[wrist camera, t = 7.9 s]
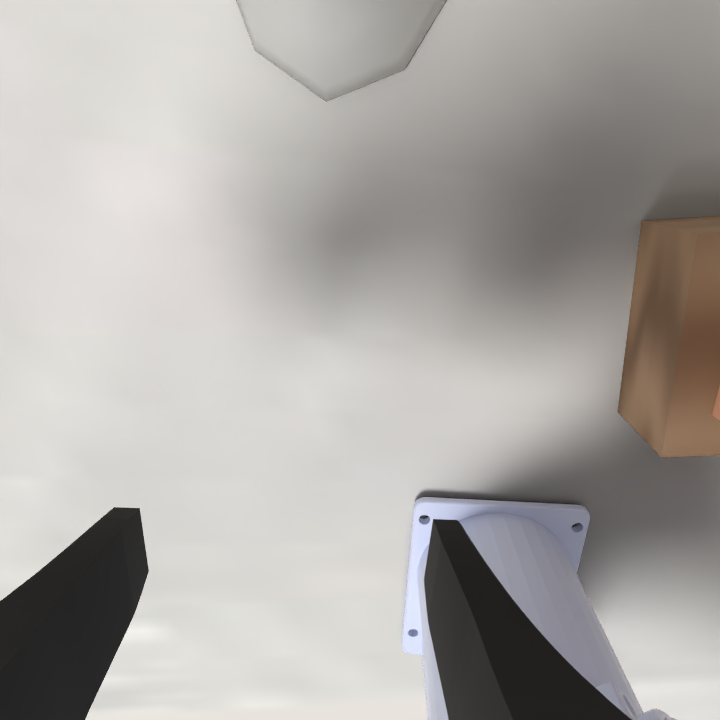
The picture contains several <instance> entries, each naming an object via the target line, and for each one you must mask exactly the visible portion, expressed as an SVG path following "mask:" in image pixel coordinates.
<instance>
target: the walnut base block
mask: <svg viewBox="0 0 720 720" xmlns="http://www.w3.org/2000/svg"><path fill="white" fill-rule="evenodd" d="M719 386H720V216H712V217H696V218H679V219H663V220H647V221H641V229H640V237H639V245H638V253H637V261H636V270H635V278H634V286H633V294H632V302H631V310H630V318H629V326H628V334H627V342H626V350H625V358H624V366H623V374H622V382H621V390H620V398H619V406H618V413H619V414H620V415H621V416H622V417H623V418H624V419H625V420H626V421H627V422H628V423H629V424H630V425H631V426H632V427H633V428H634V430H635V431H636V432H637V433H638V434H639V435H640V436H641V437H642V438H643V439H644V440H645V441H646V442H647V443H648V444H649V445H650V446H651V447H652V448H653V449H654V450H655V451H656V452H657V453H658V455H659V456H660V457H661V458H662V457H689V456H716V455H720V420H719V419H717V418H716V417H714V416H713V415H712V412H713V409H714V405H715V401H716V397H717V393H718V389H719Z"/></svg>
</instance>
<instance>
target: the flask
mask: <svg viewBox="0 0 720 720" xmlns="http://www.w3.org/2000/svg"><path fill="white" fill-rule="evenodd" d="M236 1H237V4H238V7H239V9H240V12H241V15H242V17H243V20H244V23H245V25H246V28H247V31H248V33H249V36H250V39H251V41H252V44H253V47H254V49H255V51H256V52H258V53H259V54H261V55H262V56H263V57H265V58H266V59H267V60H269V61H270V62H272V63H273V64H274V65H276V66H277V67H279V68H280V69H281V70H283V71H284V72H286V73H287V74H288V75H290V76H291V77H293V78H294V79H295V80H297V81H298V82H300V83H301V84H302V85H304V86H305V87H307V88H308V89H309V90H311V91H312V92H313V93H315V94H316V95H318V96H319V97H320V98H322V99H323V100H325V101H326V102H327V101H329V100H332V99H334V98H337V97H339V96H341V95H344V94H346V93H349V92H351V91H354V90H356V89H359V88H361V87H363V86H366V85H368V84H371V83H373V82H376V81H378V80H380V79H383V78H385V77H388V76H390V75H393V74H395V73H398V72H400V71H402V70H404V69H405V68H406V66H407V64H408V63H409V61H410V59H411V58H412V56H413V54H414V53H415V51H416V50H417V48H418V46H419V45H420V43H421V41H422V40H423V38H424V36H425V35H426V33H427V31H428V30H429V28H430V26H431V25H432V23H433V21H434V20H435V18H436V16H437V15H438V13H439V11H440V10H441V8H442V7H443V5H444V3H445V2H446V0H236Z"/></svg>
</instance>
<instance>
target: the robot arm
mask: <svg viewBox="0 0 720 720" xmlns="http://www.w3.org/2000/svg"><path fill="white" fill-rule="evenodd" d="M422 515H427V516H428V518H426V519H421V518H420V516H422ZM589 521H590V514H589V512H588V511H587V509H586V508H585V507H584V506H582V505H572V504H552V503H533V502H513V501H494V500H474V499H454V498H435V497H421V498H419V499H417V500H416V502H415V504H414V509H413V520H412V531H411V542H410V554H409V565H408V576H407V587H406V598H405V609H404V620H403V631H402V649H403V650H404V651H405V652H406V653H409V654H422V661H423V672H424V684H425V695H426V706H427V718H428V720H676V719H674V718H671V717H670V716H668V715H667V714H666V713H665V712H663V711H661V710H658V709H652V710H649V711H647V712H645V713H643V711H642V709H641V707H640V705H639V703H638V700H637V698H636V696H635V694H634V692H633V690H632V688H631V686H630V684H629V682H628V680H627V678H626V676H625V674H624V671H623V669H622V667H621V665H620V663H619V661H618V659H617V657H616V655H615V653H614V651H613V649H612V647H611V645H610V642H609V640H608V638H607V636H606V634H605V632H604V630H603V628H602V626H601V624H600V622H599V620H598V618H597V616H596V613H595V611H594V609H593V607H592V605H591V603H590V601H589V599H588V597H587V595H586V593H585V591H584V589H583V587H582V585H581V582H580V580H579V578H578V576H577V571H578V567H579V563H580V559H581V555H582V550H583V546H584V542H585V538H586V534H587V530H588V525H589ZM575 523H579V525H578V526H575V527H572V526H573V525H574V524H575ZM147 574H148V564H147V557H146V550H145V543H144V536H143V529H142V522H141V515H140V508H116V507H114V508H113V509H112V510H111V511H109V512H108V513H107V514H106V515H105V516H103V517H102V518H101V519H100V520H99V521H98V522H96V523H95V524H94V525H93V526H92V527H91V528H89V529H88V530H87V531H86V532H85V533H84V534H82V535H81V536H80V537H79V538H78V539H77V540H76V541H74V542H73V543H72V544H71V545H70V546H69V547H67V548H66V549H65V550H64V551H63V552H61V553H60V554H59V555H58V556H57V557H55V558H54V559H53V560H52V561H51V562H49V563H48V564H47V565H46V566H45V567H43V568H42V569H41V570H40V571H39V572H37V573H36V574H35V575H34V576H32V577H31V578H30V579H28V580H27V581H26V582H25V583H23V584H22V585H21V586H19V587H18V588H17V589H16V590H14V591H13V592H12V593H10V594H9V595H8V596H7V597H5V598H4V599H3V600H1V601H0V720H85V718H86V716H87V714H88V711H89V709H90V707H91V705H92V703H93V701H94V699H95V696H96V694H97V692H98V690H99V688H100V686H101V684H102V682H103V680H104V677H105V675H106V673H107V671H108V669H109V667H110V665H111V663H112V661H113V658H114V656H115V654H116V652H117V650H118V648H119V646H120V644H121V641H122V639H123V637H124V635H125V633H126V631H127V629H128V626H129V624H130V622H131V620H132V618H133V615H134V613H135V611H136V608H137V605H138V602H139V599H140V596H141V593H142V590H143V587H144V584H145V581H146V578H147ZM411 629H415V630H411Z"/></svg>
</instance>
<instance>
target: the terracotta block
mask: <svg viewBox="0 0 720 720" xmlns="http://www.w3.org/2000/svg"><path fill="white" fill-rule="evenodd" d="M712 415H713V416H714V417H716V418H717V419H719V420H720V386H719V389H718V393H717V397H716V401H715V405H714V409H713V412H712Z"/></svg>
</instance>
